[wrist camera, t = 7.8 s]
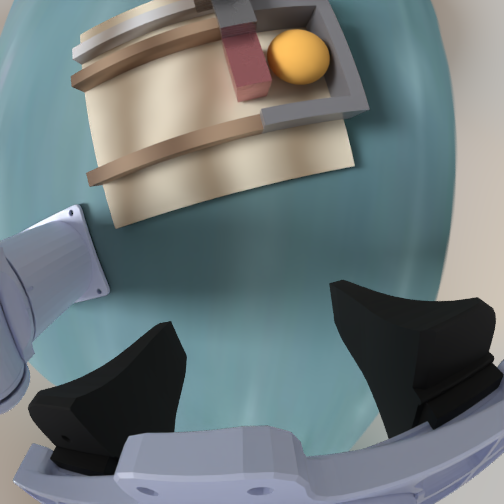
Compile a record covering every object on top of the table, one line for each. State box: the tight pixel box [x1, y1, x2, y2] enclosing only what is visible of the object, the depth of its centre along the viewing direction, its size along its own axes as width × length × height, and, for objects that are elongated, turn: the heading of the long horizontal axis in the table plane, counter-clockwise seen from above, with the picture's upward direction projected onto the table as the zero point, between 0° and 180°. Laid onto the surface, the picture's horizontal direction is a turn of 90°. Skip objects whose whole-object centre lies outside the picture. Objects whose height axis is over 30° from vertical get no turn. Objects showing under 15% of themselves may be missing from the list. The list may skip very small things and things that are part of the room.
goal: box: [250, 0, 370, 133], centre depth 14 cm, size 6×9×3 cm
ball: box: [267, 29, 330, 85], centre depth 14 cm, size 4×4×4 cm
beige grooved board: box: [71, 0, 355, 229], centre depth 15 cm, size 18×18×3 cm
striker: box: [193, 0, 272, 102], centre depth 11 cm, size 4×10×8 cm, turn 14°
